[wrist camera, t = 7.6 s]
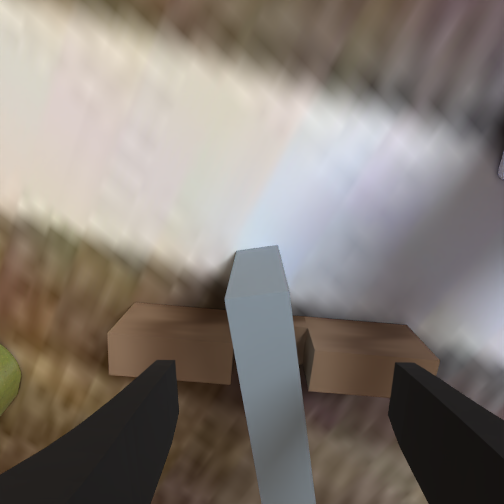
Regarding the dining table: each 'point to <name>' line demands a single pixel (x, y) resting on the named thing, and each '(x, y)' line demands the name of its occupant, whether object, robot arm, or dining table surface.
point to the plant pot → (8, 378)
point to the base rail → (307, 344)
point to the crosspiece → (269, 375)
